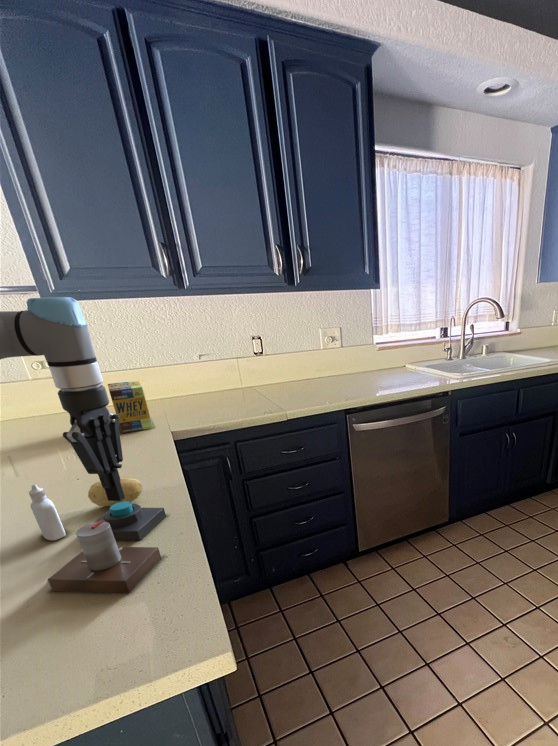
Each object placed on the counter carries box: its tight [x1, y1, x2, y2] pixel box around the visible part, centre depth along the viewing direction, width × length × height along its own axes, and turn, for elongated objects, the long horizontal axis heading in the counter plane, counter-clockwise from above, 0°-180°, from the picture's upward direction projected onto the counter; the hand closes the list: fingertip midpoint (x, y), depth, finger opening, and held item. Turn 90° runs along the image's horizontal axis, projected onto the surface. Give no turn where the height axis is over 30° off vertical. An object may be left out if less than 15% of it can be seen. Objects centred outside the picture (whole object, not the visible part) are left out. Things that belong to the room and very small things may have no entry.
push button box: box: [92, 503, 167, 541], centre depth 92 cm, size 12×10×4 cm
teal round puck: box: [109, 501, 133, 517], centre depth 90 cm, size 4×4×2 cm
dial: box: [75, 520, 121, 571], centre depth 75 cm, size 5×5×7 cm
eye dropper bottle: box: [28, 483, 66, 541], centre depth 88 cm, size 4×6×12 cm
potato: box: [87, 477, 143, 508], centre depth 102 cm, size 7×11×6 cm, turn 111°
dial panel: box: [47, 546, 162, 594], centre depth 77 cm, size 14×10×3 cm
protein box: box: [107, 380, 154, 434], centre depth 159 cm, size 10×15×16 cm
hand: (116, 499), depth 89 cm, fingers closed
